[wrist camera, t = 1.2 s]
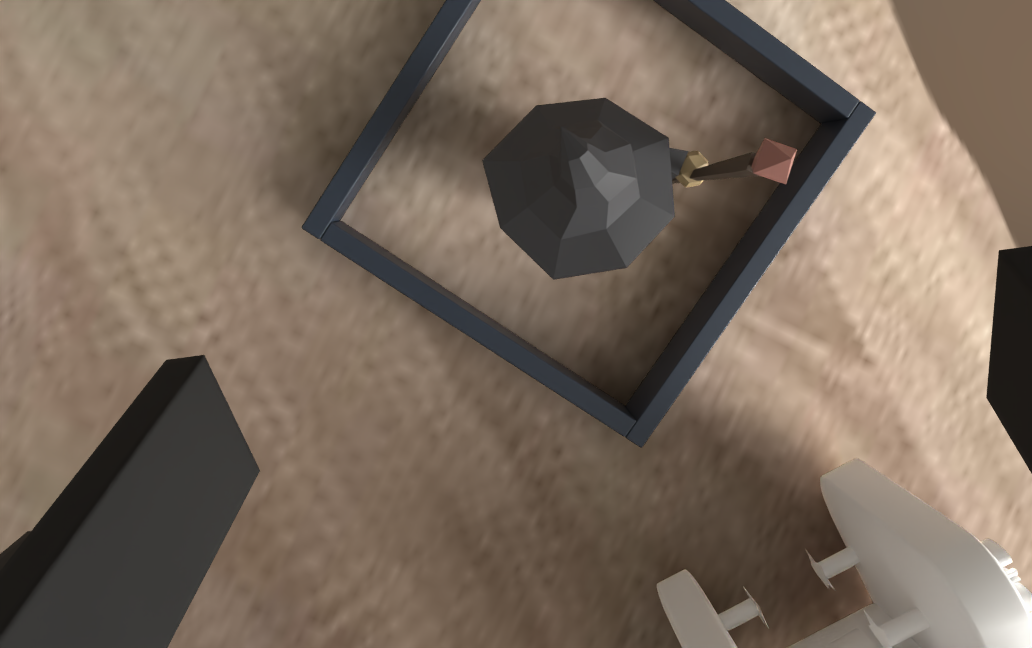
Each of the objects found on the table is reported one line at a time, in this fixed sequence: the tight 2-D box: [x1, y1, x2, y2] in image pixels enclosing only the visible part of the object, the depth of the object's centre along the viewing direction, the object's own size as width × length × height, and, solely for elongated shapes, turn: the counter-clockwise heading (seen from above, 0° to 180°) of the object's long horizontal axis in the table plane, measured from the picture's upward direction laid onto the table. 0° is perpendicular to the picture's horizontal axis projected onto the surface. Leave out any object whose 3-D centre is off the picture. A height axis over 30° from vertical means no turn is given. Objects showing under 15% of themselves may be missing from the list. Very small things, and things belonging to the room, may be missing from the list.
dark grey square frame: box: [302, 0, 876, 448], centre depth 33 cm, size 16×16×2 cm
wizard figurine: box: [482, 98, 797, 280], centre depth 28 cm, size 8×6×12 cm
